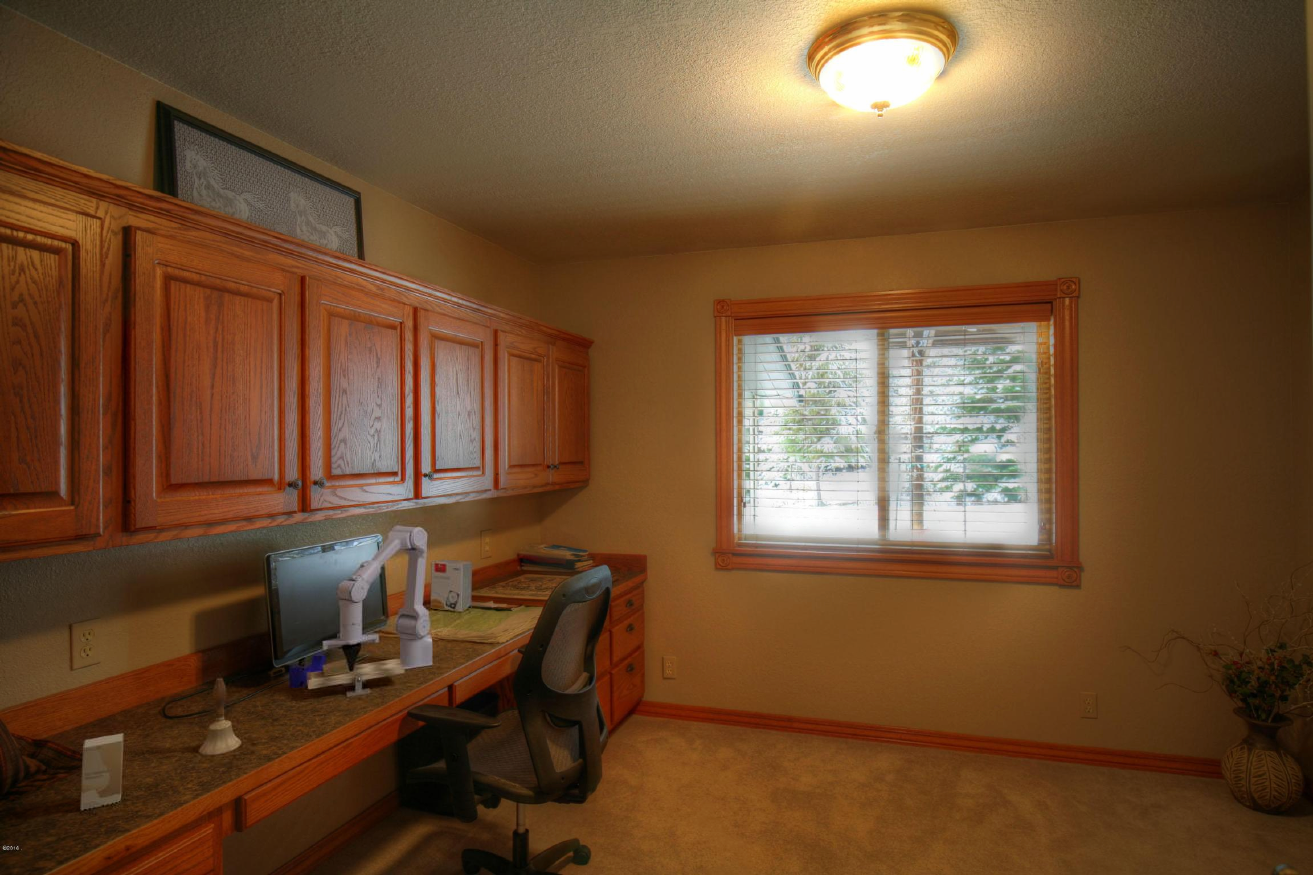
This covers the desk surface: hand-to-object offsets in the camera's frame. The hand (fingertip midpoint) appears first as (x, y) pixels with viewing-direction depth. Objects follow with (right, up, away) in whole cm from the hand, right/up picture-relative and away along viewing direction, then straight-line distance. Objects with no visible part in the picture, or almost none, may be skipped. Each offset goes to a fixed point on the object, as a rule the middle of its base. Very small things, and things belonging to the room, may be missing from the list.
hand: (350, 670), depth 197 cm
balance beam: (+1, -1, +1) cm, 2 cm away
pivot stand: (+1, -5, +1) cm, 6 cm away
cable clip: (-17, -6, +8) cm, 19 cm away
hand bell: (-14, -6, -37) cm, 40 cm away
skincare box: (-22, -5, -61) cm, 65 cm away
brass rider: (-3, -1, -2) cm, 4 cm away
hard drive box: (+1, -6, +93) cm, 93 cm away
